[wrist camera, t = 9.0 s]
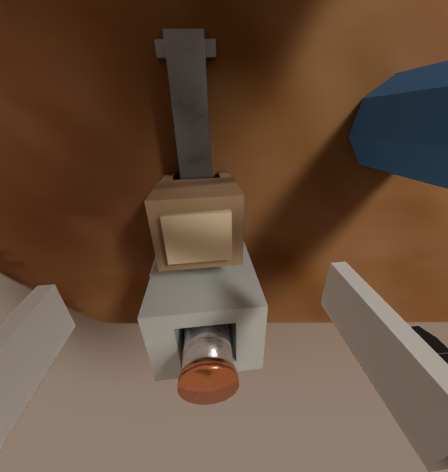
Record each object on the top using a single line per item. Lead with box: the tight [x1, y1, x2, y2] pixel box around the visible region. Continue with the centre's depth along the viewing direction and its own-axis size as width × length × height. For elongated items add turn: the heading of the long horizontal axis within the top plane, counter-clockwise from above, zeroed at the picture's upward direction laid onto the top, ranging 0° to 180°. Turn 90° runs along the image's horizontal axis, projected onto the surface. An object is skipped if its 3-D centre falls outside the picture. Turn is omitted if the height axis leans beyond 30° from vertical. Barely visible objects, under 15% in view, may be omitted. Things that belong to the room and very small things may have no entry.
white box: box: [137, 243, 268, 381], centre depth 24 cm, size 8×10×12 cm
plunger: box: [178, 324, 239, 405], centre depth 18 cm, size 4×4×6 cm
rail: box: [154, 29, 216, 180], centre depth 22 cm, size 18×5×3 cm, turn 2°
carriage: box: [144, 171, 244, 272], centre depth 21 cm, size 6×7×10 cm
